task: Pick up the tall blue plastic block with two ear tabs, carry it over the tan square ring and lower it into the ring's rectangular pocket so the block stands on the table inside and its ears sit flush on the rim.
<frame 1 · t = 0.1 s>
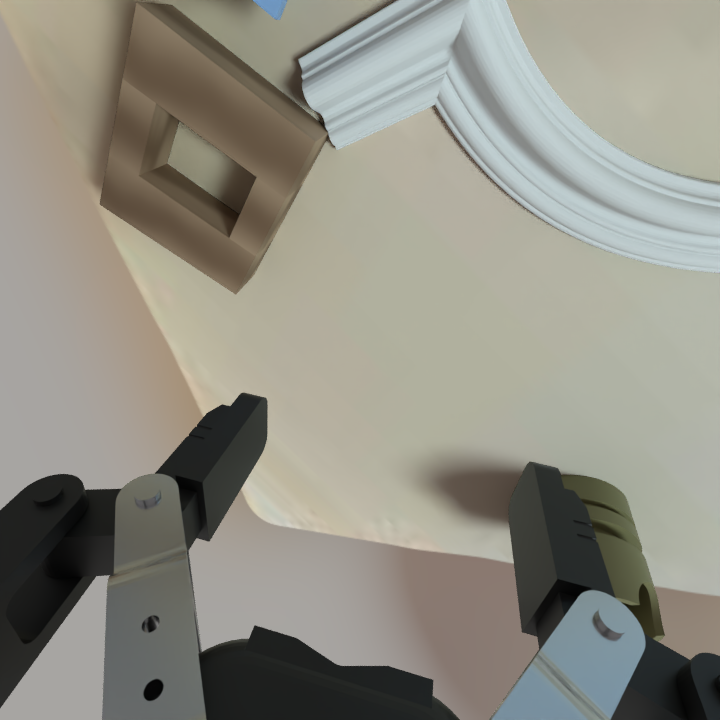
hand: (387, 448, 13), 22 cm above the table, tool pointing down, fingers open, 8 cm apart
molding: (594, 200, 28), on the table
tan square ring: (219, 164, 31), on the table
piston: (569, 505, 46), on the table
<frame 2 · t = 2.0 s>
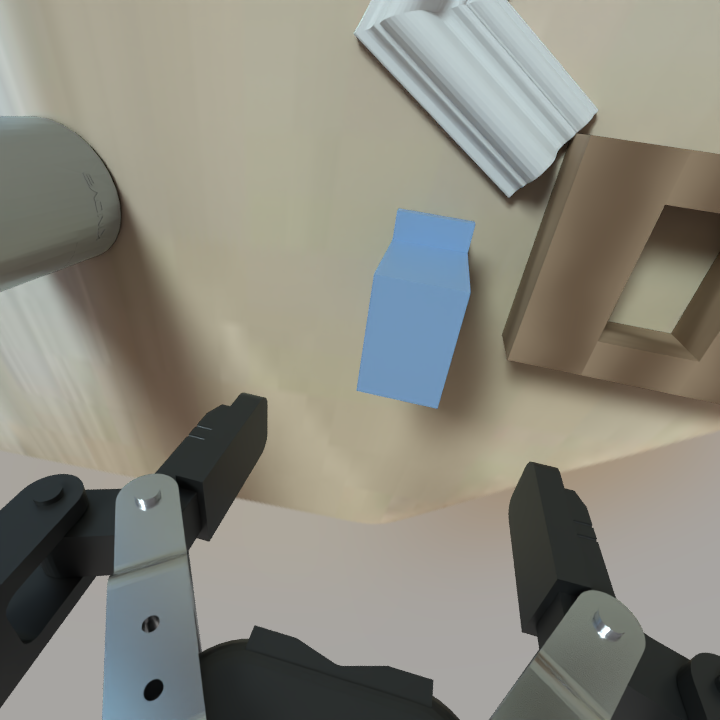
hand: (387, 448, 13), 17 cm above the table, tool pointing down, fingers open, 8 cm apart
tan square ring: (655, 268, 24), on the table
blue block: (423, 274, 27), on the table
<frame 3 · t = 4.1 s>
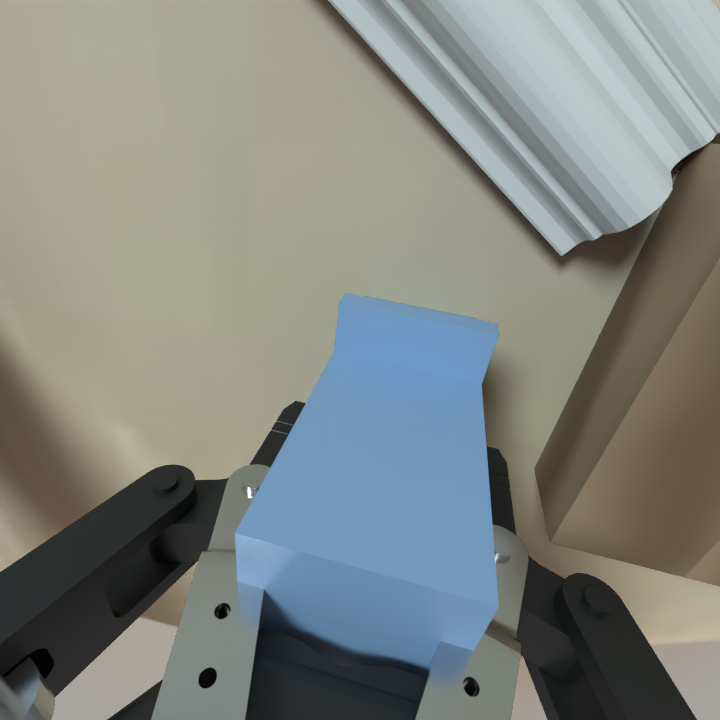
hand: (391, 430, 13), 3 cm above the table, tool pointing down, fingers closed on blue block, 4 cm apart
blue block: (404, 377, 16), on the table, touching gripper
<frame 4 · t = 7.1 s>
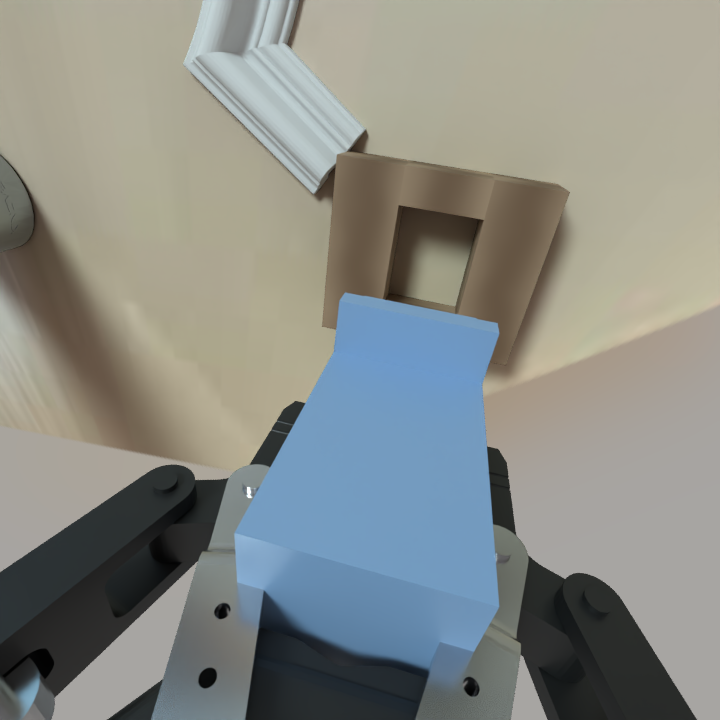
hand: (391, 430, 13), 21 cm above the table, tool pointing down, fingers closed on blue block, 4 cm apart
tan square ring: (431, 254, 31), on the table
blue block: (404, 376, 16), point 17 cm above the table, touching gripper
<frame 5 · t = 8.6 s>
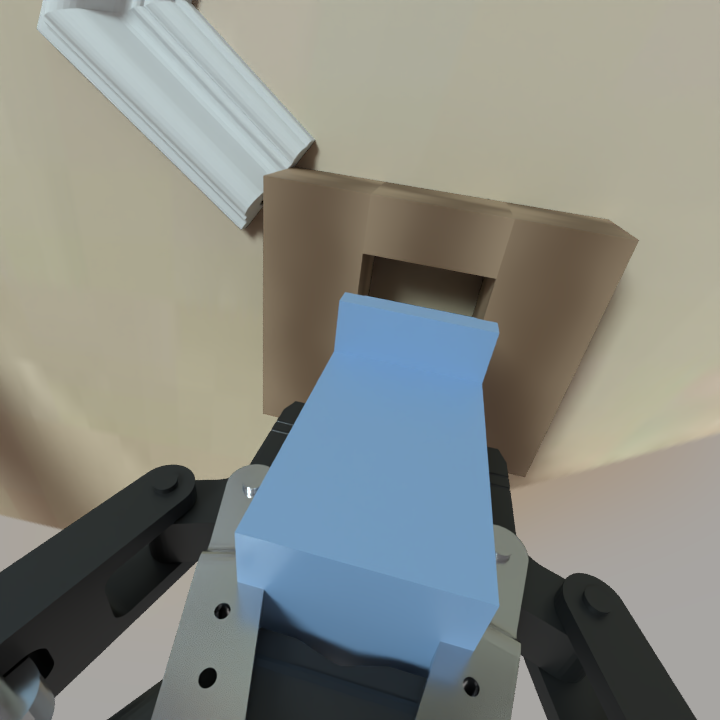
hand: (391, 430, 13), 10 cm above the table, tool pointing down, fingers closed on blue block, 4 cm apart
tan square ring: (417, 314, 21), on the table
blue block: (404, 376, 16), point 6 cm above the table, touching gripper
when the fingers open (5 cm above the table, at t = 9.9 s): blue block drops 1 cm, resting in tan square ring.
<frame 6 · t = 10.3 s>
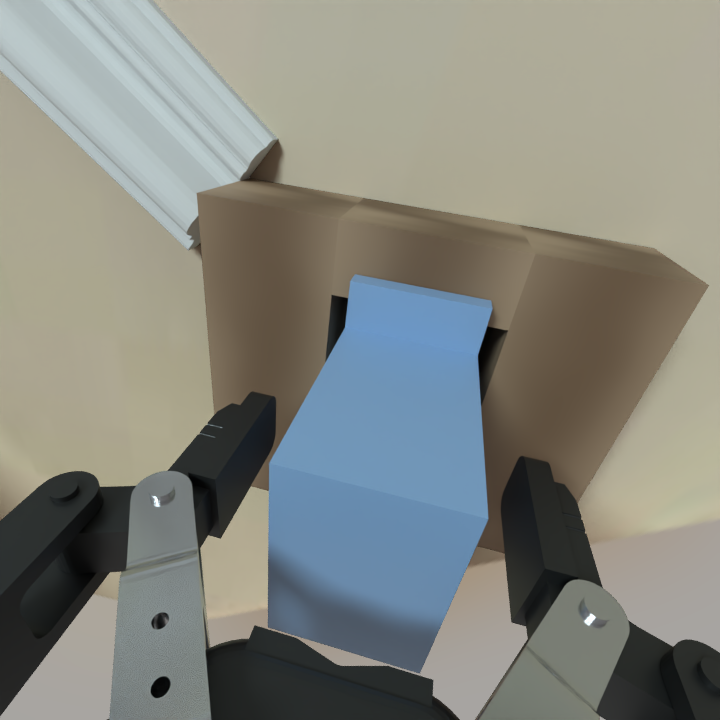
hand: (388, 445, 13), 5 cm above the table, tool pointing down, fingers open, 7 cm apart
tan square ring: (407, 358, 17), on the table
blue block: (407, 357, 17), resting in tan square ring
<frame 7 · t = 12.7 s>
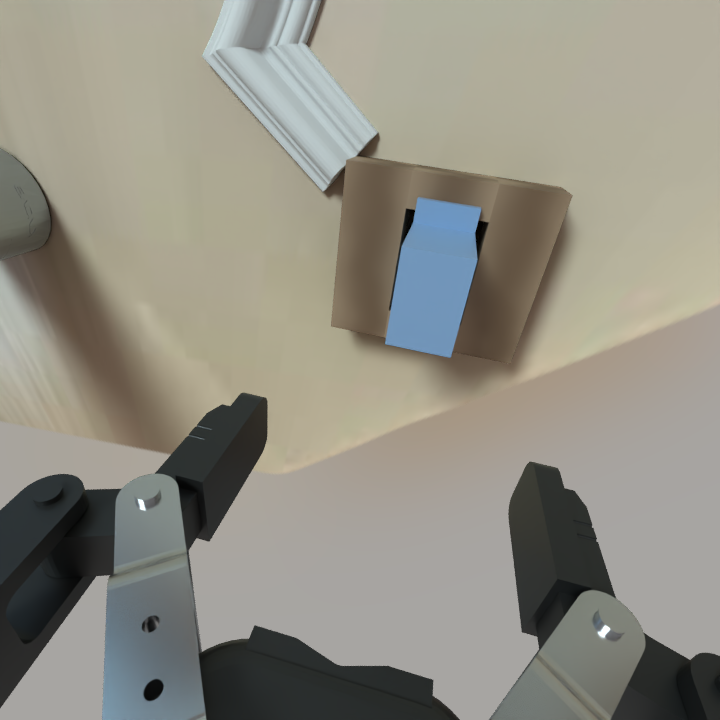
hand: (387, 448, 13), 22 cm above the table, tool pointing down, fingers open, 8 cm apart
tan square ring: (437, 255, 32), on the table
blue block: (437, 255, 32), resting in tan square ring
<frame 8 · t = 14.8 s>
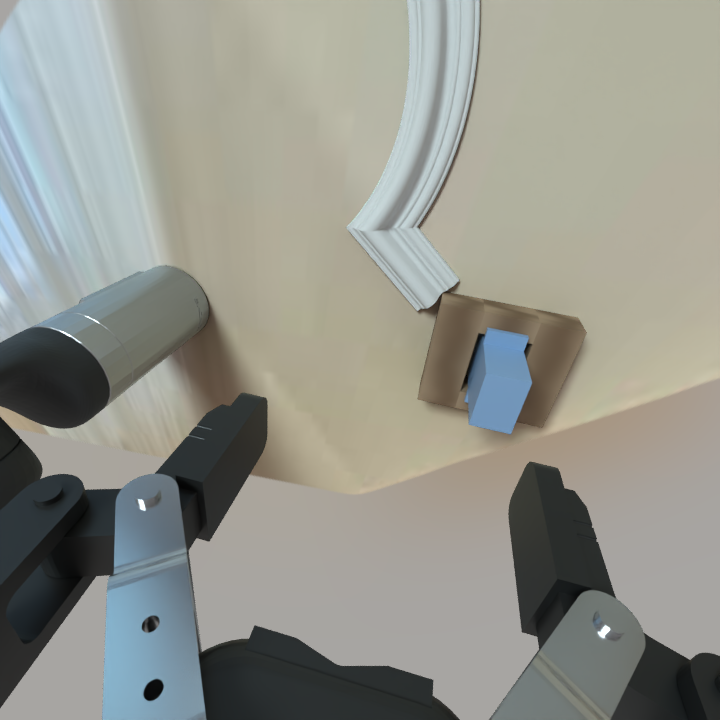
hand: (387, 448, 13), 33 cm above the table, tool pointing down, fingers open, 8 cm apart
molding: (446, 77, 35), on the table
tan square ring: (492, 353, 46), on the table
blue block: (492, 352, 46), resting in tan square ring
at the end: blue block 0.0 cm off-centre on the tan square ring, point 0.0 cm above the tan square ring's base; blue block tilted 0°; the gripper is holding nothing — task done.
